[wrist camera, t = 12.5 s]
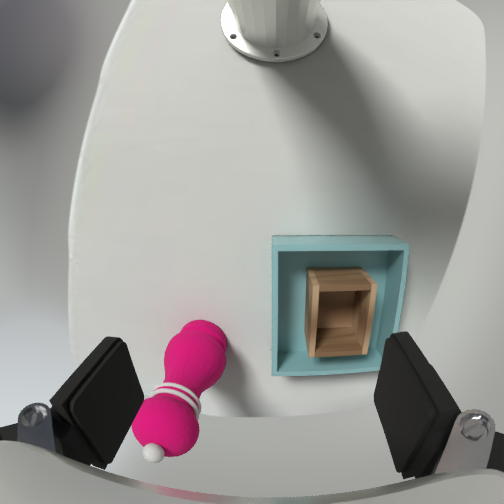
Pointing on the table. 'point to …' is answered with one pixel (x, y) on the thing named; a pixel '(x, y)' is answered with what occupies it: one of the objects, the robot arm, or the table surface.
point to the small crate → (338, 311)
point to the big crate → (294, 296)
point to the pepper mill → (181, 391)
